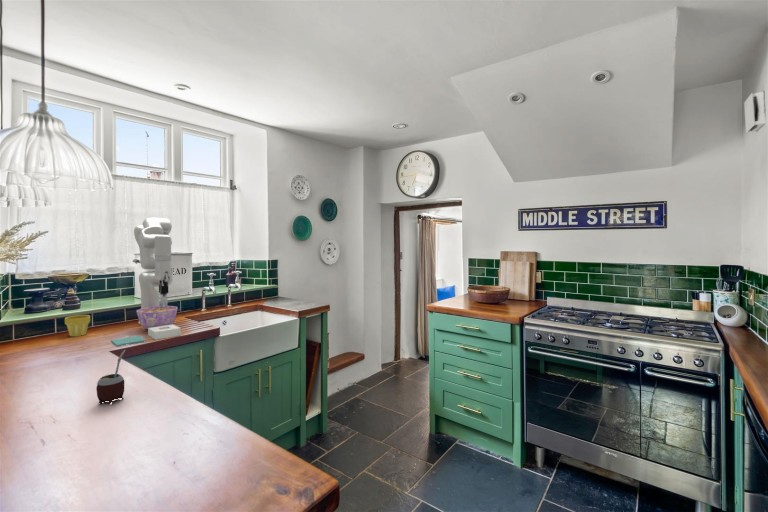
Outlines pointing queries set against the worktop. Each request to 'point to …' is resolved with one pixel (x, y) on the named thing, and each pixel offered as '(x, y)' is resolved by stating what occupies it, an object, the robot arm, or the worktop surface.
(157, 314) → the bowl of food
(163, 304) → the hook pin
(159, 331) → the eye block
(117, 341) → the mat
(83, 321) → the plant pot
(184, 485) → the worktop surface
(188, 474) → the worktop surface
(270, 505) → the worktop surface
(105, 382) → the mate gourd
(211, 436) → the worktop surface
